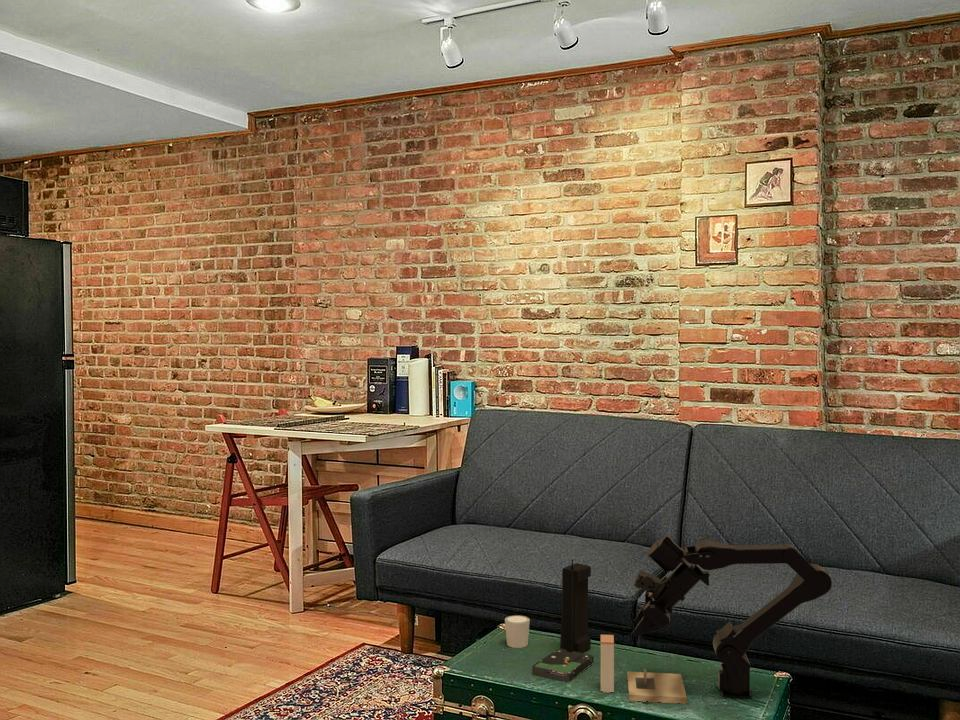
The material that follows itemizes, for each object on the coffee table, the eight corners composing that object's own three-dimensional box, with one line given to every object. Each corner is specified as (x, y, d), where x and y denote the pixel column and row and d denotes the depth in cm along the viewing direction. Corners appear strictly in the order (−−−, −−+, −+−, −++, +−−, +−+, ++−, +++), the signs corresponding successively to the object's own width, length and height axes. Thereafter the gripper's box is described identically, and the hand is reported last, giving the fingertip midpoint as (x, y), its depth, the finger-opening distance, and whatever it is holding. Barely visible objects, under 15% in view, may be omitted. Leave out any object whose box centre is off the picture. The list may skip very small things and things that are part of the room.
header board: (680, 680, 217) (681, 661, 217) (686, 703, 203) (686, 684, 203) (627, 677, 219) (627, 659, 219) (629, 701, 205) (629, 681, 205)
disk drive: (557, 658, 234) (531, 676, 221) (558, 647, 234) (531, 665, 221) (594, 665, 228) (569, 684, 216) (594, 655, 228) (569, 673, 216)
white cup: (518, 638, 247) (518, 613, 247) (535, 644, 242) (535, 619, 242) (499, 643, 243) (499, 618, 243) (516, 650, 238) (516, 624, 237)
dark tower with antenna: (574, 642, 243) (574, 552, 242) (593, 647, 239) (593, 556, 239) (558, 650, 237) (558, 558, 236) (577, 656, 233) (577, 562, 233)
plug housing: (613, 683, 215) (613, 635, 214) (613, 692, 210) (613, 642, 209) (600, 683, 215) (600, 634, 215) (600, 692, 210) (600, 642, 210)
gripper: (654, 550, 221) (612, 593, 224) (652, 570, 203) (606, 617, 206) (688, 582, 219) (645, 625, 222) (689, 605, 201) (642, 652, 204)
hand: (634, 629), depth 213 cm, fingers open, 9 cm apart
